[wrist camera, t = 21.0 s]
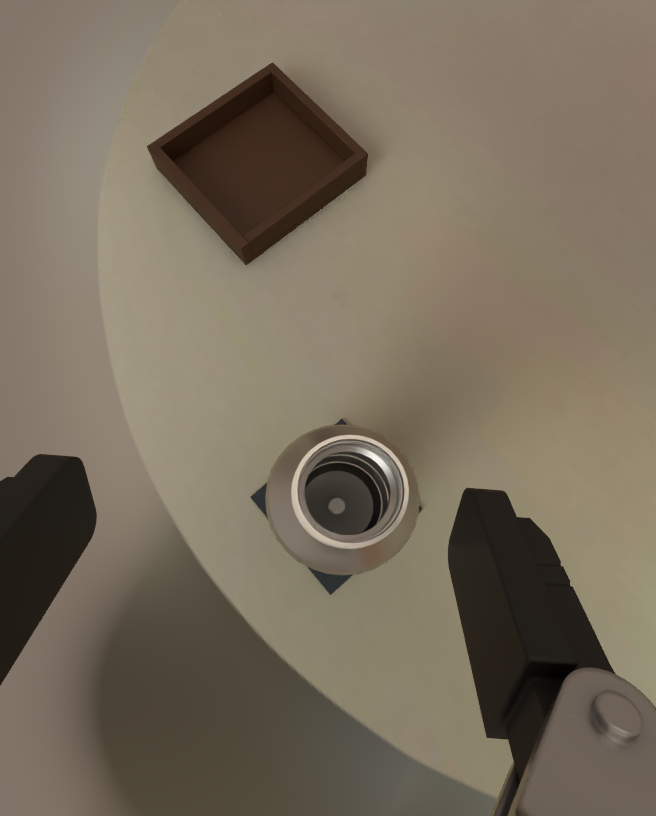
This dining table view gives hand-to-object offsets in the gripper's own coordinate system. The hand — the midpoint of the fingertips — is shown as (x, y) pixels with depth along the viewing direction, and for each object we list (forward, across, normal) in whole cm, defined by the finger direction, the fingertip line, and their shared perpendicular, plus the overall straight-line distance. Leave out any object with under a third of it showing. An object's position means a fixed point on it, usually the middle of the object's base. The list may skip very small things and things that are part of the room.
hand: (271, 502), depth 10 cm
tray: (+38, +6, -3) cm, 39 cm away
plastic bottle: (+18, -2, +17) cm, 25 cm away
